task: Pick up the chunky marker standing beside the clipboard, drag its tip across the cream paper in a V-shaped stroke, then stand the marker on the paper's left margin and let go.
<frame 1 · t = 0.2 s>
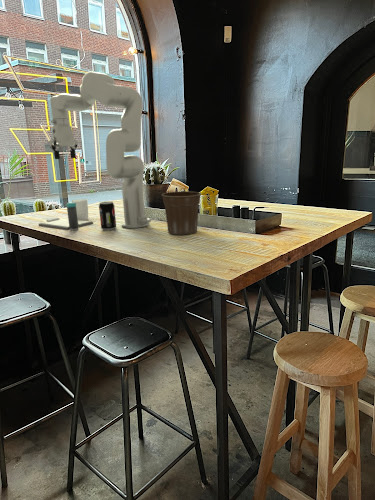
hand: (65, 158, 188), 31 cm above the table, tool pointing down, fingers open, 9 cm apart
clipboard: (65, 224, 181), on the table
plant pot: (183, 232, 155), on the table
beverage can: (108, 229, 166), on the table
white cup: (81, 219, 193), on the table
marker: (74, 229, 168), on the table
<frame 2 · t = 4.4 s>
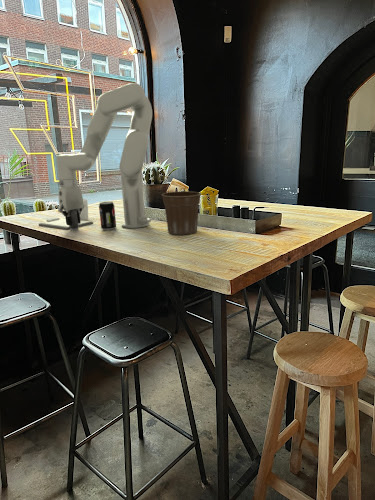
hand: (73, 223, 167), 3 cm above the table, tool pointing down, fingers closed on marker, 4 cm apart
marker: (74, 229, 168), on the table, touching gripper
everything else where it was.
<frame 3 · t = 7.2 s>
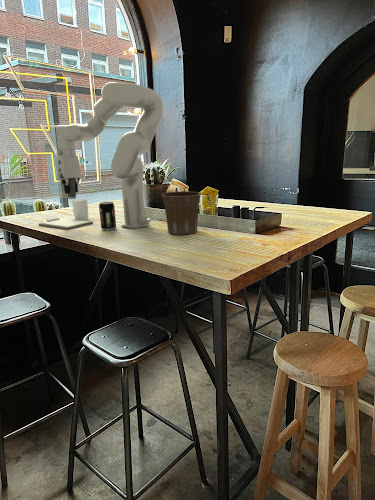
hand: (71, 192, 177), 15 cm above the table, tool pointing down, fingers closed on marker, 4 cm apart
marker: (72, 198, 177), point 13 cm above the table, touching gripper
everything else where it was.
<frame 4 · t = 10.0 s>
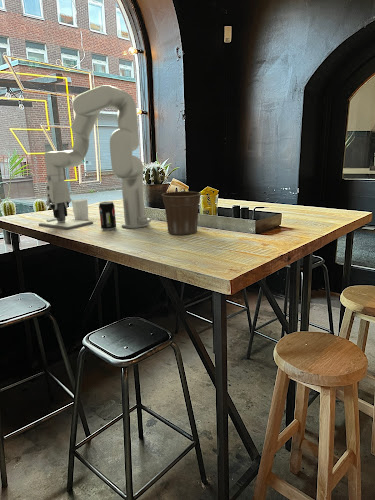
hand: (60, 216, 179), 4 cm above the table, tool pointing down, fingers closed on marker, 4 cm apart
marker: (61, 222, 180), point 1 cm above the table, touching gripper
everything else where it was.
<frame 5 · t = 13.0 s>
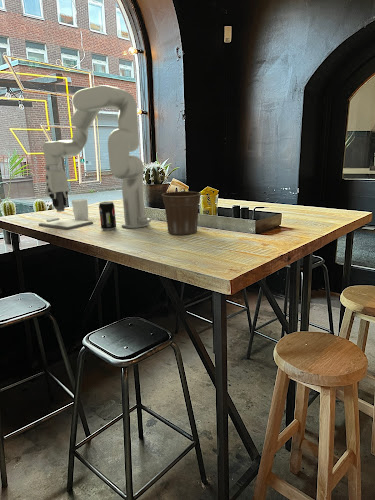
hand: (59, 205, 183), 9 cm above the table, tool pointing down, fingers closed on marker, 4 cm apart
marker: (60, 211, 184), point 6 cm above the table, touching gripper
everything else where it was.
when the fingers open (4 cm above the table, at t = 15.7 s): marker stays where it is, resting on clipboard.
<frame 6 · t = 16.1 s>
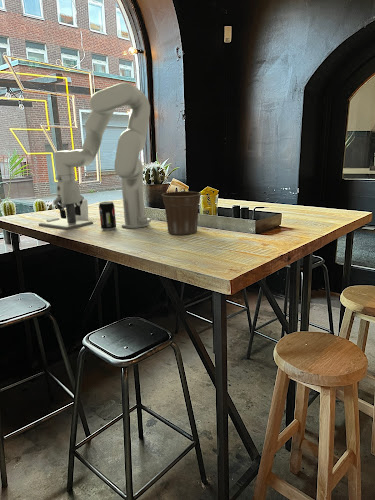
hand: (71, 216, 174), 5 cm above the table, tool pointing down, fingers open, 7 cm apart
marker: (72, 224, 175), point 1 cm above the table, touching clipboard
everything else where it was.
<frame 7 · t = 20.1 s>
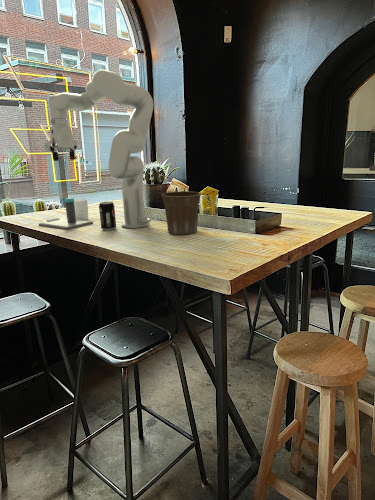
hand: (64, 160, 180), 30 cm above the table, tool pointing down, fingers open, 9 cm apart
nothing on the table moved.
at the end: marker inside the target area on the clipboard (7.8 cm from its centre), point 1.2 cm above the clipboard's base; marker tilted 0°; the gripper is holding nothing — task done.
